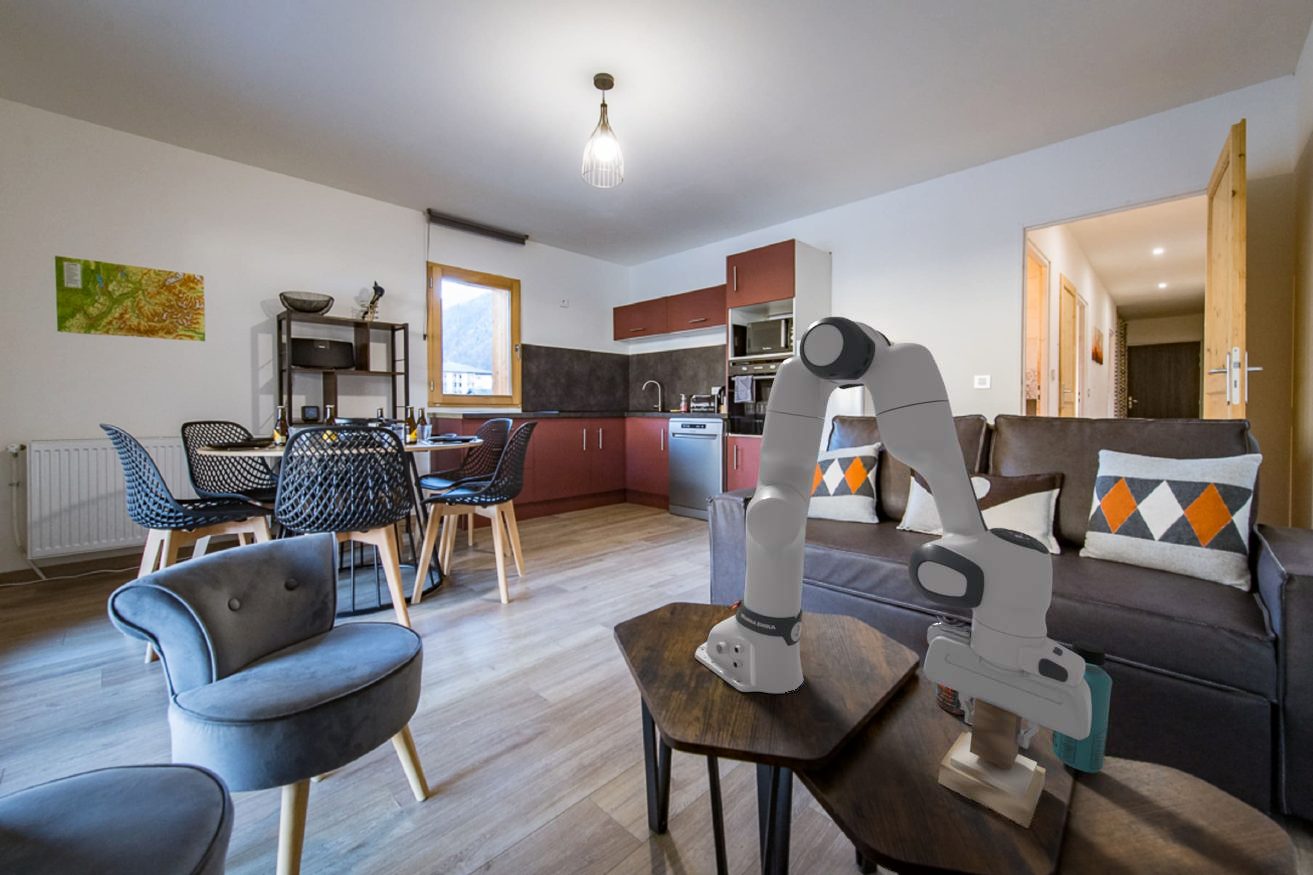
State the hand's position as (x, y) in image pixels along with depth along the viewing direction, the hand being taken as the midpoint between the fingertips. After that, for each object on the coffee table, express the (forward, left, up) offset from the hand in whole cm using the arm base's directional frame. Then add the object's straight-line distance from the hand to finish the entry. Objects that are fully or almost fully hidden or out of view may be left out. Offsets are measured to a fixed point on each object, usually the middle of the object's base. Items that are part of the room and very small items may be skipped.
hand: (996, 733), depth 75 cm
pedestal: (0, 0, -8) cm, 8 cm away
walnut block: (0, 0, -3) cm, 3 cm away
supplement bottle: (-10, +18, -8) cm, 22 cm away
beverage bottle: (+8, +15, -8) cm, 19 cm away
